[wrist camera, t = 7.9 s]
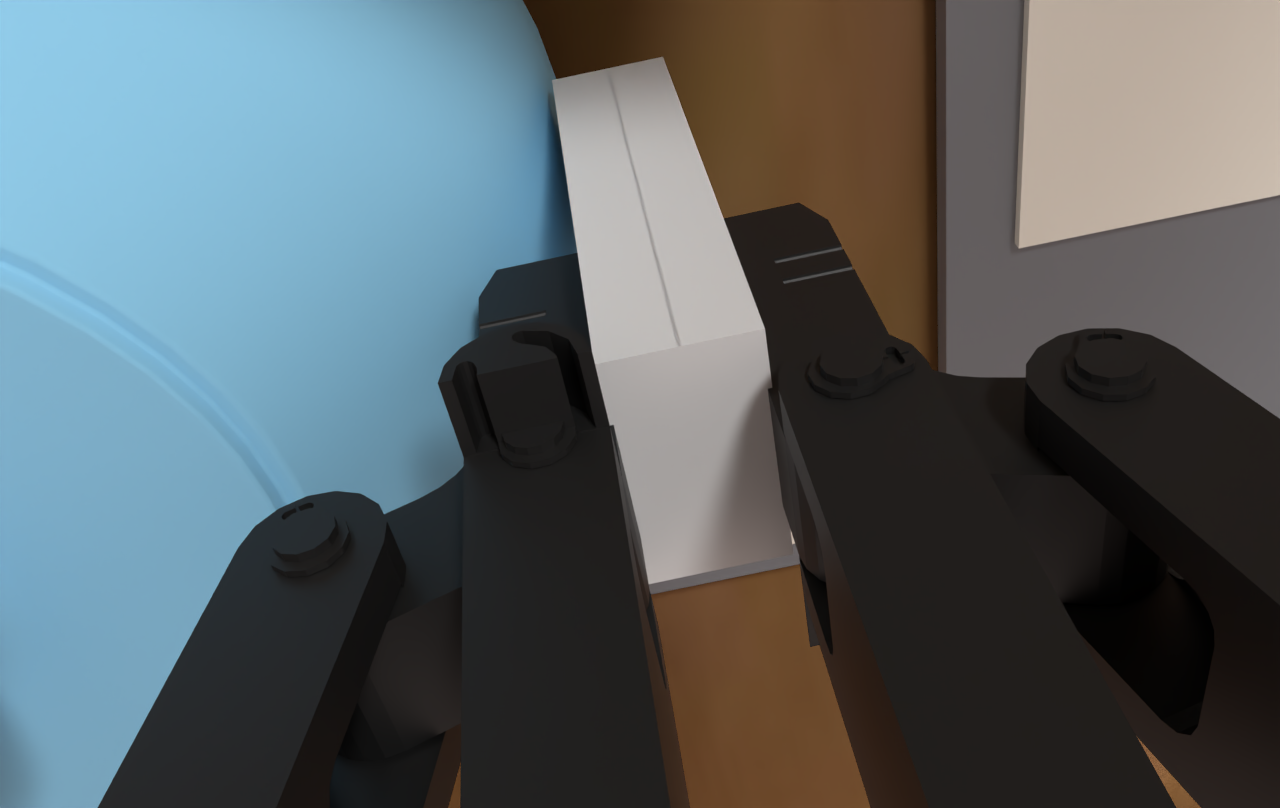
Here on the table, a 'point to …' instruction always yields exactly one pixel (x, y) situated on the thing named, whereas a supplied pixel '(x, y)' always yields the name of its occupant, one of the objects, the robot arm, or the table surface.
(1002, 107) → the label board
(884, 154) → the table surface
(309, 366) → the sugar bowl
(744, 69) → the table surface
